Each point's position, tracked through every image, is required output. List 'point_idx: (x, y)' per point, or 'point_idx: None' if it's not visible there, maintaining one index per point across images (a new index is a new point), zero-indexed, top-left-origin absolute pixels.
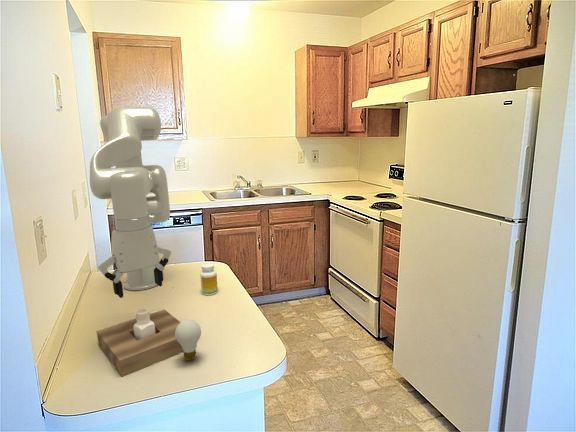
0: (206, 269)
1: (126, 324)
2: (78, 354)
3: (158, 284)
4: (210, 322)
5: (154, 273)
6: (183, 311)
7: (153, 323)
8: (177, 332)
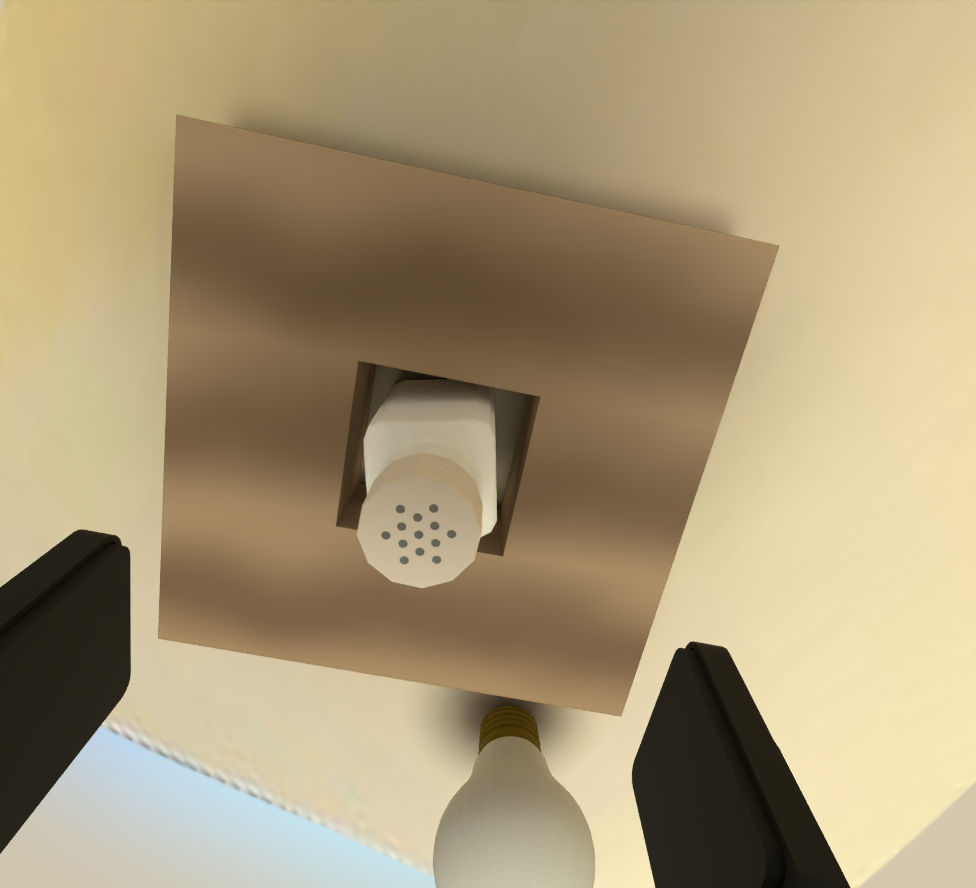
0: None
1: (405, 230)
2: (86, 138)
3: (644, 759)
4: (877, 514)
5: (730, 798)
6: (944, 199)
7: (484, 533)
8: (438, 881)
